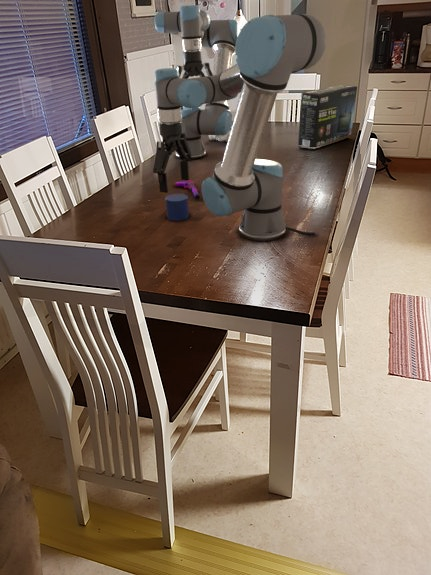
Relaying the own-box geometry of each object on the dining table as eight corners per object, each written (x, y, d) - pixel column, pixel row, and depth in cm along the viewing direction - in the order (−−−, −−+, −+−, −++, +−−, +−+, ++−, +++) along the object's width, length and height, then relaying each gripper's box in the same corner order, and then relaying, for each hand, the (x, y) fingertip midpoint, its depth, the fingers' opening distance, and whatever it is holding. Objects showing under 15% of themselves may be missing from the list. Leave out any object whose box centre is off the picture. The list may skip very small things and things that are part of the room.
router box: (314, 151, 231) (318, 94, 217) (296, 148, 237) (299, 92, 224) (352, 138, 251) (358, 85, 238) (335, 135, 258) (340, 83, 245)
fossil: (231, 137, 247) (212, 119, 250) (221, 153, 253) (203, 136, 256) (247, 135, 260) (230, 119, 264) (237, 151, 267) (220, 135, 270)
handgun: (174, 185, 194) (174, 180, 193) (192, 183, 195) (192, 178, 194) (181, 201, 176) (180, 197, 175) (200, 199, 177) (200, 194, 176)
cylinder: (188, 211, 167) (186, 193, 164) (189, 219, 161) (188, 200, 157) (167, 213, 167) (165, 194, 163) (167, 221, 160) (165, 202, 157)
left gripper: (166, 54, 175) (171, 112, 186) (224, 48, 184) (225, 104, 195) (159, 52, 181) (164, 109, 192) (215, 47, 190) (217, 102, 201)
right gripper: (180, 113, 158) (184, 173, 169) (137, 129, 139) (144, 195, 151) (199, 115, 155) (202, 176, 166) (157, 131, 136) (163, 199, 147)
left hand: (195, 107), depth 194 cm, fingers open, 13 cm apart
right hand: (174, 185), depth 158 cm, fingers open, 13 cm apart
